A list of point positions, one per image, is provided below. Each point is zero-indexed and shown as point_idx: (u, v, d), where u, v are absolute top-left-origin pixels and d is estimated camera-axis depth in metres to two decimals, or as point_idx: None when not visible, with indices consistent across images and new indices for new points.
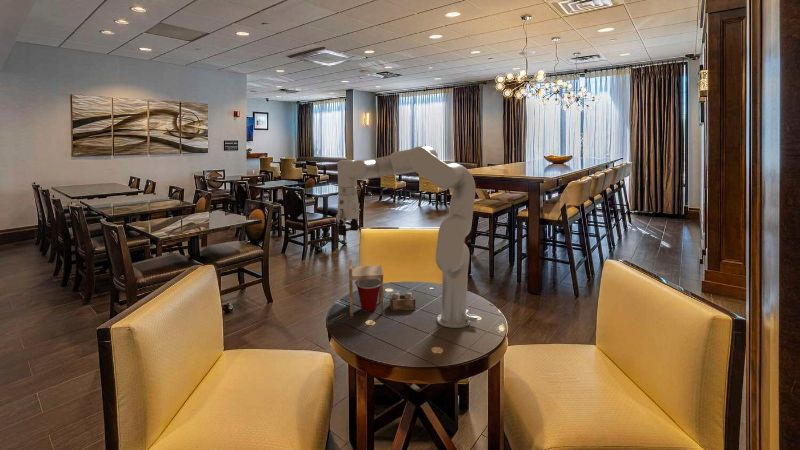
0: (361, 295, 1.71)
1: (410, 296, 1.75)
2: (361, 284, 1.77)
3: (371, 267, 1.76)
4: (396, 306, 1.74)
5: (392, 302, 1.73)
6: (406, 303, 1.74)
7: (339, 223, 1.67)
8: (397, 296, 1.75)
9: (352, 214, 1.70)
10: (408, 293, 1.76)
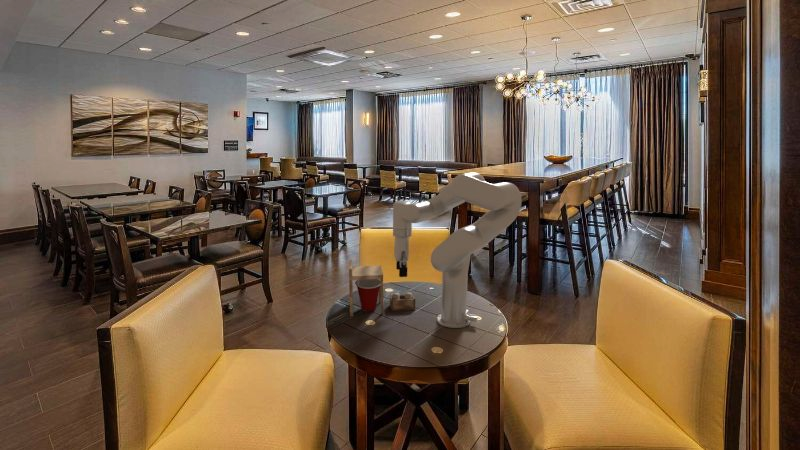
0: (361, 295, 1.71)
1: (410, 296, 1.75)
2: (361, 284, 1.77)
3: (371, 267, 1.76)
4: (396, 306, 1.74)
5: (392, 302, 1.73)
6: (406, 303, 1.74)
7: None
8: (397, 296, 1.75)
9: (394, 253, 1.74)
10: (408, 293, 1.76)
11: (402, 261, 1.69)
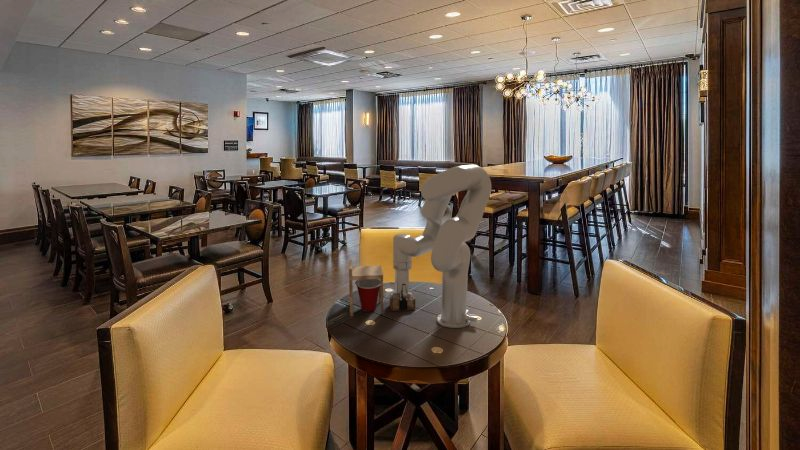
0: (361, 295, 1.71)
1: (410, 296, 1.75)
2: (361, 284, 1.77)
3: (371, 267, 1.76)
4: (396, 306, 1.74)
5: (392, 302, 1.73)
6: None
7: None
8: (397, 296, 1.75)
9: (395, 284, 1.76)
10: (408, 293, 1.76)
11: (402, 294, 1.73)
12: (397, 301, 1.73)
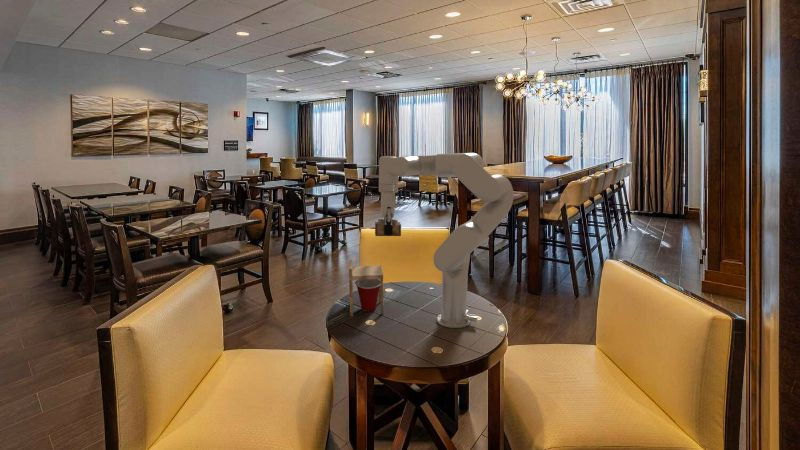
0: (361, 295, 1.71)
1: (396, 222, 1.69)
2: (361, 284, 1.77)
3: (371, 267, 1.76)
4: (381, 231, 1.67)
5: (377, 227, 1.67)
6: None
7: None
8: (382, 221, 1.68)
9: None
10: (394, 219, 1.70)
11: None
12: (382, 226, 1.67)
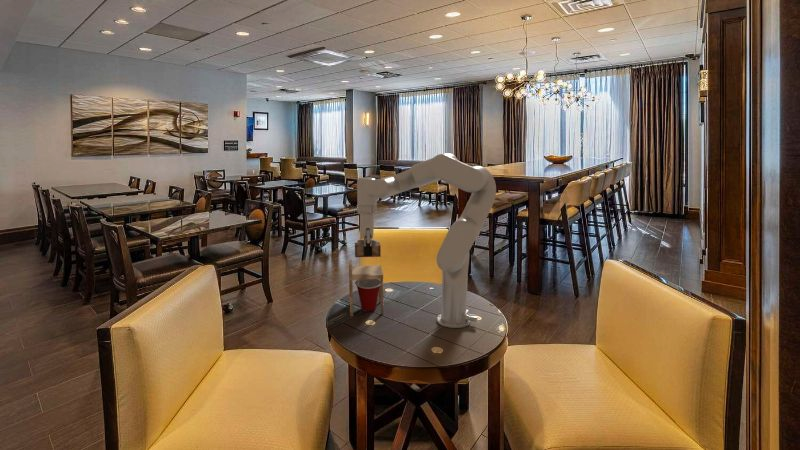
0: (361, 295, 1.71)
1: (375, 243, 1.69)
2: (361, 284, 1.77)
3: (371, 267, 1.76)
4: (360, 252, 1.68)
5: (357, 248, 1.67)
6: None
7: None
8: (362, 242, 1.69)
9: None
10: (373, 240, 1.70)
11: (367, 239, 1.67)
12: (361, 247, 1.67)
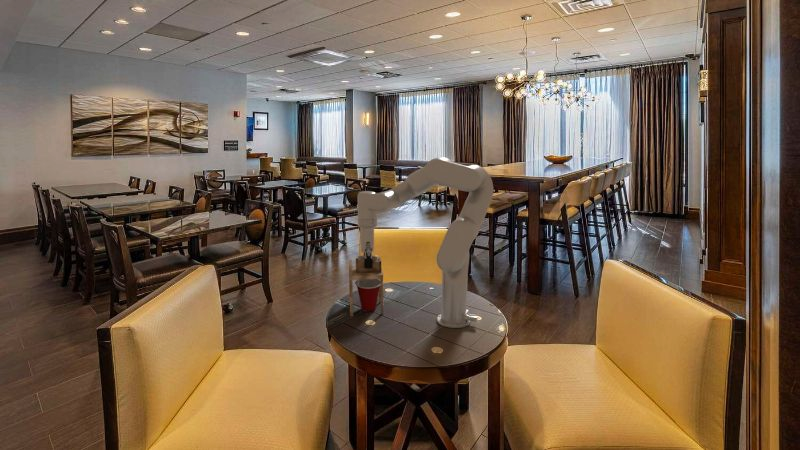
0: (361, 295, 1.71)
1: (376, 258, 1.71)
2: (361, 284, 1.77)
3: None
4: (361, 268, 1.69)
5: (357, 264, 1.68)
6: None
7: None
8: (362, 258, 1.70)
9: None
10: (374, 255, 1.72)
11: None
12: (362, 263, 1.68)
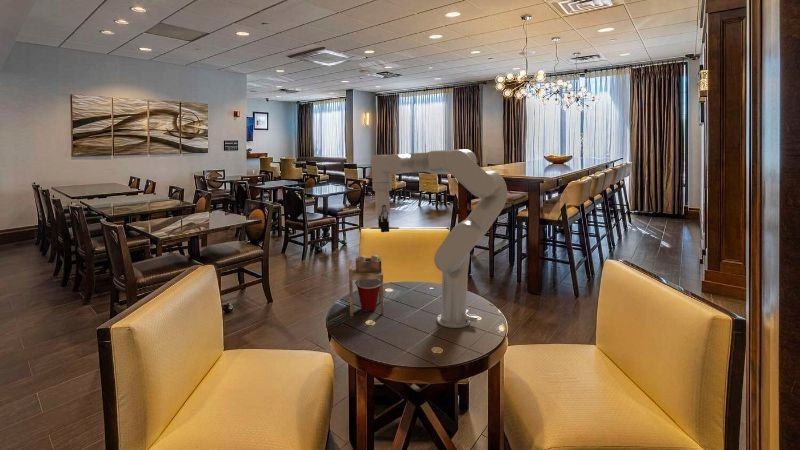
0: (361, 295, 1.71)
1: (376, 258, 1.71)
2: (361, 284, 1.77)
3: None
4: (361, 268, 1.69)
5: (357, 264, 1.68)
6: (371, 265, 1.69)
7: None
8: (362, 258, 1.70)
9: (375, 209, 1.69)
10: (374, 255, 1.72)
11: (383, 216, 1.65)
12: (362, 263, 1.68)
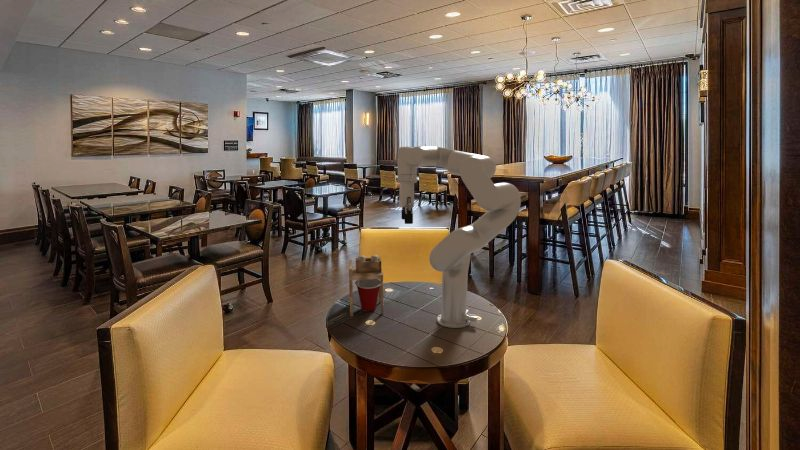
0: (361, 295, 1.71)
1: (376, 258, 1.71)
2: (361, 284, 1.77)
3: None
4: (361, 268, 1.69)
5: (357, 264, 1.68)
6: (371, 265, 1.69)
7: None
8: (362, 258, 1.70)
9: (399, 201, 1.71)
10: (374, 255, 1.72)
11: (407, 207, 1.66)
12: (362, 263, 1.68)
